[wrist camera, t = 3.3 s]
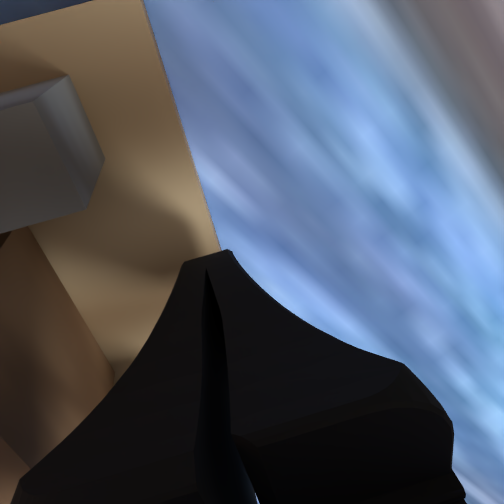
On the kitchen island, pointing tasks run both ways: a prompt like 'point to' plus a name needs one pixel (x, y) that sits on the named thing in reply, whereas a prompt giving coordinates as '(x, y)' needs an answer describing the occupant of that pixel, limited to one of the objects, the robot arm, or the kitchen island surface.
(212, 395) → the robot arm
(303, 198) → the kitchen island surface
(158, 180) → the chute board
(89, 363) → the walnut block
